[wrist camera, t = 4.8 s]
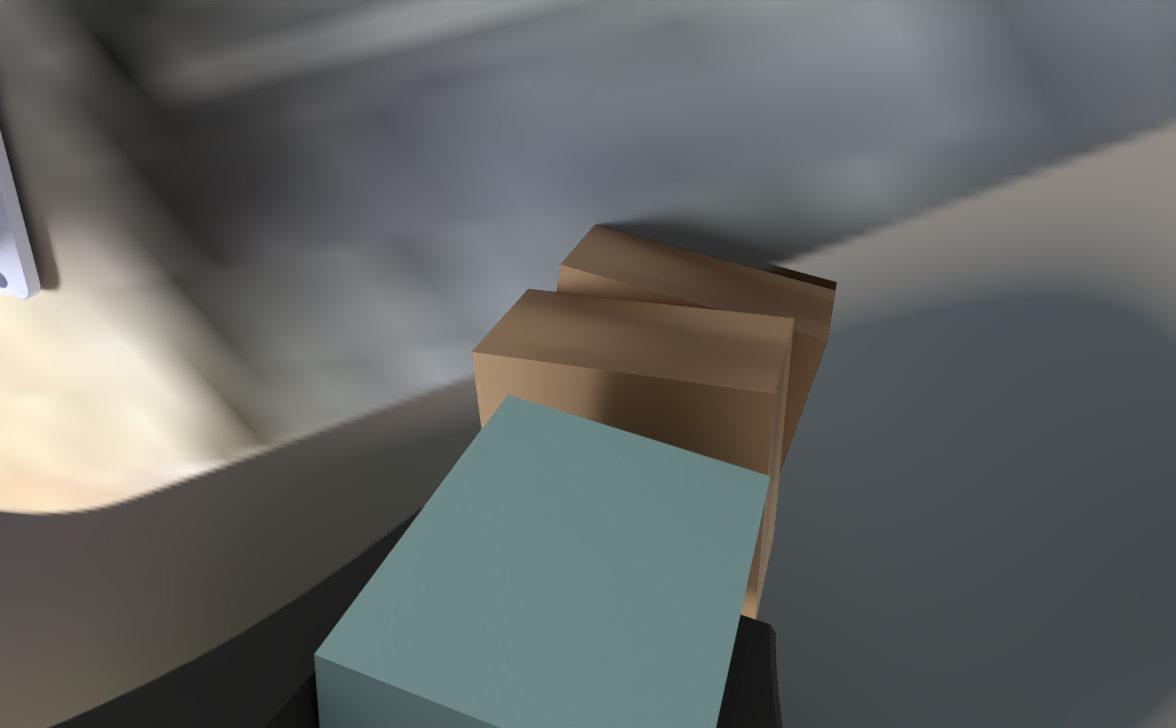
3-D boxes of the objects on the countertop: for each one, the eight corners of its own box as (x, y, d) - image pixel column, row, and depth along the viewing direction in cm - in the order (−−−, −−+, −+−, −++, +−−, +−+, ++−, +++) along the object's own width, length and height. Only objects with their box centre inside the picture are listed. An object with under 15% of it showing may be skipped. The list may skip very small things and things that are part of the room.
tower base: (569, 407, 20) (531, 467, 18) (600, 218, 17) (560, 264, 15) (770, 470, 19) (754, 541, 17) (836, 282, 16) (827, 340, 14)
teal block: (489, 576, 15) (329, 853, 11) (507, 394, 12) (314, 654, 8) (708, 656, 14) (627, 985, 10) (770, 476, 12) (699, 806, 8)
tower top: (546, 492, 18) (500, 571, 16) (528, 288, 16) (471, 352, 14) (773, 535, 17) (753, 627, 15) (794, 318, 14) (774, 393, 12)
